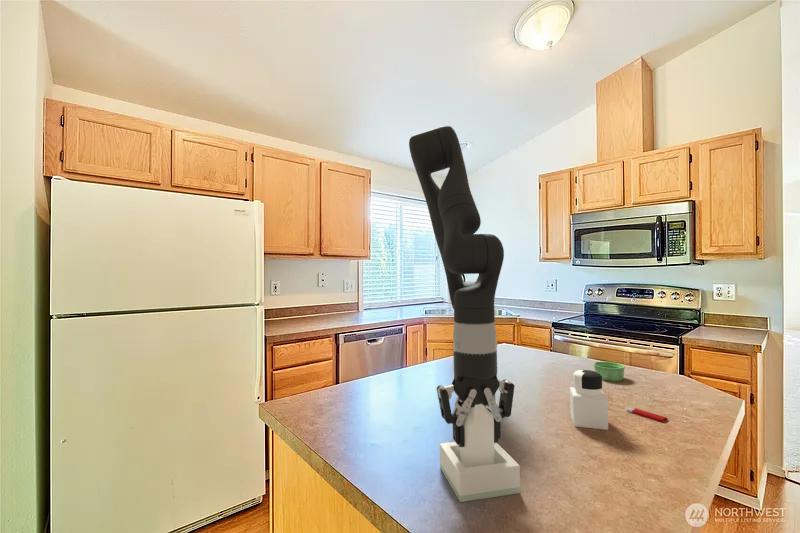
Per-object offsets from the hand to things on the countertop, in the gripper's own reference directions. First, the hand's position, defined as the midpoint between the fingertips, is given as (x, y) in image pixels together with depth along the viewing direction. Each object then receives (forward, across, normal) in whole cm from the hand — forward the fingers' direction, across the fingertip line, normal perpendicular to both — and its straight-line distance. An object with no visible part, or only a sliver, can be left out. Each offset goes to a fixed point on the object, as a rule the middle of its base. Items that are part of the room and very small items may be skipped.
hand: (476, 442), depth 65 cm
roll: (+4, 0, 0) cm, 4 cm away
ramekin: (+7, -66, -45) cm, 80 cm away
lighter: (+7, -51, -16) cm, 54 cm away
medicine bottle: (+7, -35, -16) cm, 39 cm away
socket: (+6, 0, 0) cm, 6 cm away
